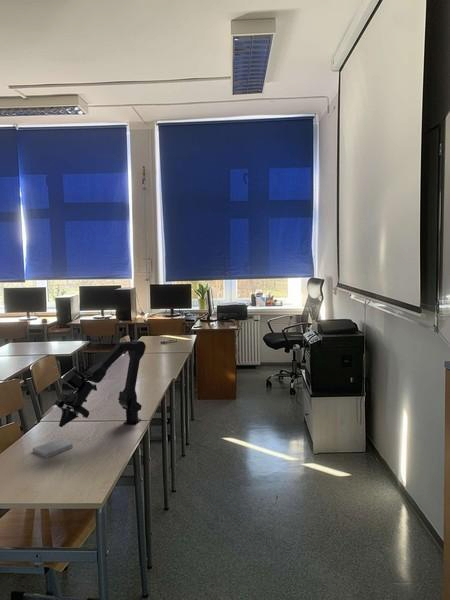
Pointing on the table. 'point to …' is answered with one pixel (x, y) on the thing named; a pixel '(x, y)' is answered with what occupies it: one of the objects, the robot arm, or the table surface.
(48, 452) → the grey tile
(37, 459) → the table surface
